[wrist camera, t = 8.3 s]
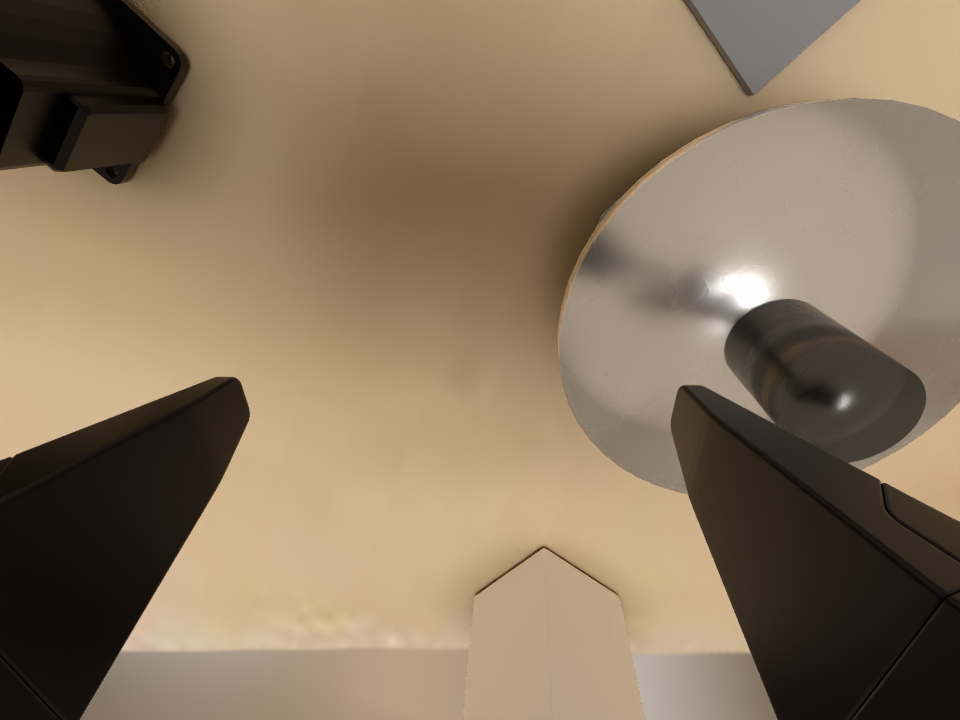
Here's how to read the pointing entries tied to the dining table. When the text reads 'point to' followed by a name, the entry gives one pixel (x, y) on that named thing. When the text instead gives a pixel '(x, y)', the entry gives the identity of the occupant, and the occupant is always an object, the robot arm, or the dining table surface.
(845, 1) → the mat
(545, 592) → the milk carton
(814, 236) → the lid
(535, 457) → the dining table surface
